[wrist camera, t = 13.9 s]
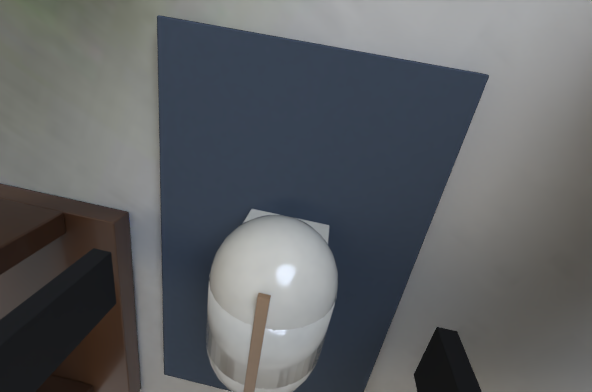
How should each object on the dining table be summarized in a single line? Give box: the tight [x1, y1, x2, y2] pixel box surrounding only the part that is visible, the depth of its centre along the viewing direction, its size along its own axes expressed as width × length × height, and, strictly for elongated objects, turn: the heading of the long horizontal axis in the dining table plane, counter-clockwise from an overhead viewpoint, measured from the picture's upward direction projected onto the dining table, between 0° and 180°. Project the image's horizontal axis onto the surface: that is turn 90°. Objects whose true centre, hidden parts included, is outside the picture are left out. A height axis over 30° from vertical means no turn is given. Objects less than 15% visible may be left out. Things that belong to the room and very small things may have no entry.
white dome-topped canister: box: [206, 209, 339, 392], centre depth 13 cm, size 5×8×5 cm, turn 170°
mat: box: [157, 16, 489, 392], centre depth 16 cm, size 12×20×1 cm, turn 170°
